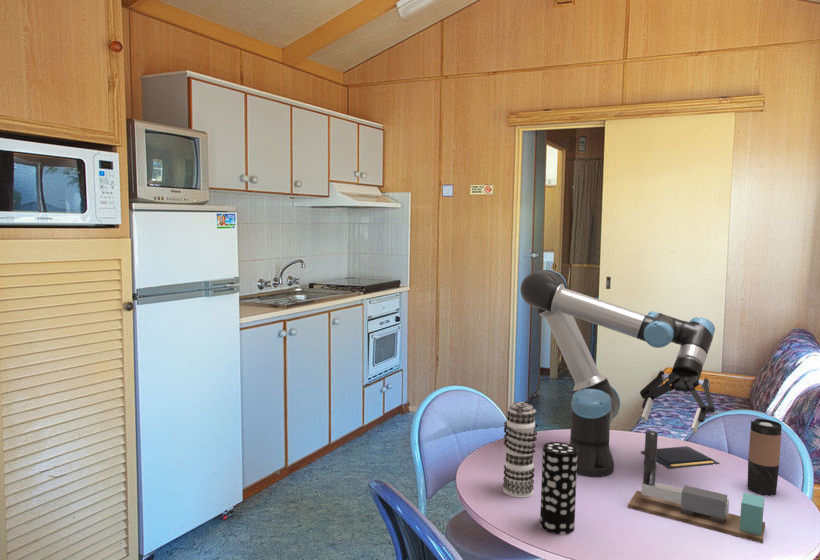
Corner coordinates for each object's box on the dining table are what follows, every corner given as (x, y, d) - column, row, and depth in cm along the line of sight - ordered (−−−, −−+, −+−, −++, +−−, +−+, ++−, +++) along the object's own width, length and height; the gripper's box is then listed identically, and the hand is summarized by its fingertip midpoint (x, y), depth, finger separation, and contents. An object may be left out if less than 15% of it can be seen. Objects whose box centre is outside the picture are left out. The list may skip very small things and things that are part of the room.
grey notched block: (680, 513, 153) (681, 491, 152) (683, 506, 157) (685, 484, 157) (723, 524, 147) (725, 502, 147) (726, 516, 152) (727, 494, 151)
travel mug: (781, 497, 166) (786, 428, 164) (751, 494, 167) (756, 425, 165) (770, 486, 173) (775, 419, 171) (742, 483, 175) (746, 417, 173)
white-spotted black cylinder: (535, 518, 151) (538, 442, 149) (567, 517, 152) (570, 441, 150) (545, 535, 143) (549, 454, 141) (579, 534, 143) (582, 454, 142)
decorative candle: (504, 482, 173) (507, 398, 170) (536, 487, 169) (540, 401, 167) (498, 494, 164) (501, 406, 162) (532, 500, 161) (535, 410, 159)
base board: (627, 507, 158) (628, 503, 158) (636, 494, 166) (636, 490, 166) (762, 543, 141) (762, 539, 141) (764, 526, 149) (765, 522, 149)
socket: (739, 530, 145) (741, 502, 144) (742, 519, 150) (743, 492, 150) (760, 535, 142) (762, 507, 142) (762, 524, 148) (764, 497, 147)
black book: (690, 443, 204) (722, 461, 189) (689, 449, 204) (722, 466, 189) (638, 447, 199) (667, 465, 184) (638, 452, 199) (667, 471, 185)
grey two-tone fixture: (641, 494, 159) (644, 432, 158) (643, 490, 162) (647, 429, 160) (727, 515, 148) (731, 449, 146) (728, 511, 150) (732, 446, 149)
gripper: (737, 378, 169) (718, 442, 159) (650, 364, 186) (627, 421, 176) (733, 363, 164) (713, 428, 155) (644, 349, 181) (621, 407, 172)
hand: (667, 424), depth 165 cm, fingers open, 13 cm apart
